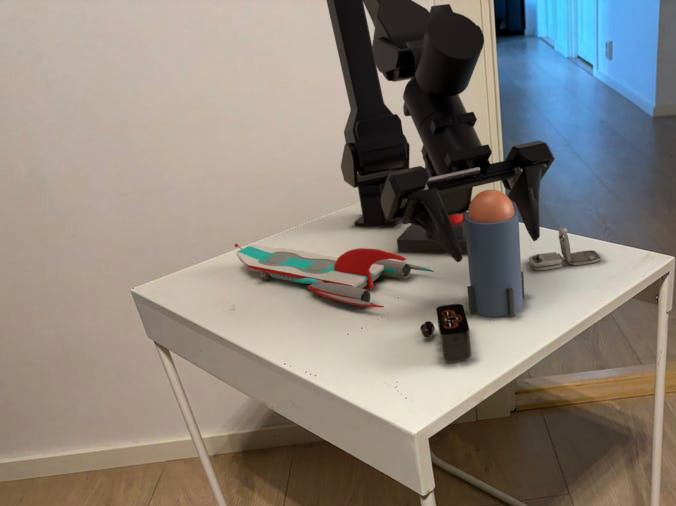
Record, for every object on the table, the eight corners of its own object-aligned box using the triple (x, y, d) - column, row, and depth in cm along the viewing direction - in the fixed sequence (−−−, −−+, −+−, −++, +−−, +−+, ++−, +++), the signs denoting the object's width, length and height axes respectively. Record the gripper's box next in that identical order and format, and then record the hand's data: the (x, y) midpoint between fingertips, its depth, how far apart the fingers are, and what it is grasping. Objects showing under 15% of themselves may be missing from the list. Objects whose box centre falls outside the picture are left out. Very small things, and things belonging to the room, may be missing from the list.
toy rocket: (456, 302, 80) (445, 189, 74) (508, 287, 83) (502, 176, 76) (485, 325, 75) (475, 206, 68) (539, 308, 78) (535, 191, 71)
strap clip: (533, 272, 86) (532, 239, 84) (527, 262, 89) (526, 230, 86) (601, 262, 87) (602, 229, 85) (593, 253, 90) (594, 221, 87)
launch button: (441, 216, 96) (440, 203, 95) (466, 217, 95) (465, 204, 94) (433, 225, 93) (431, 213, 92) (459, 226, 92) (458, 213, 92)
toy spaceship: (205, 297, 91) (192, 259, 88) (265, 263, 99) (254, 227, 97) (384, 313, 78) (374, 269, 76) (434, 273, 87) (426, 232, 84)
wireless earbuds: (464, 327, 75) (461, 299, 73) (472, 361, 69) (470, 331, 67) (420, 333, 75) (416, 305, 73) (424, 367, 69) (421, 338, 67)
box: (422, 225, 103) (419, 202, 101) (489, 227, 100) (487, 202, 99) (398, 252, 95) (394, 227, 93) (470, 254, 92) (468, 228, 90)
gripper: (495, 151, 88) (546, 261, 85) (353, 181, 81) (403, 303, 78) (526, 92, 78) (585, 215, 75) (366, 121, 71) (424, 258, 68)
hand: (499, 249), depth 74 cm, fingers open, 9 cm apart
